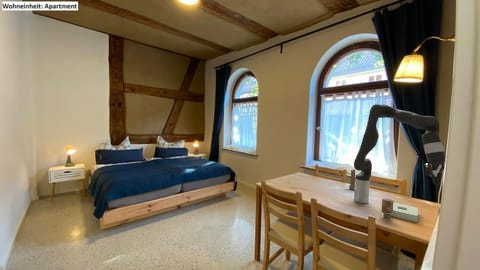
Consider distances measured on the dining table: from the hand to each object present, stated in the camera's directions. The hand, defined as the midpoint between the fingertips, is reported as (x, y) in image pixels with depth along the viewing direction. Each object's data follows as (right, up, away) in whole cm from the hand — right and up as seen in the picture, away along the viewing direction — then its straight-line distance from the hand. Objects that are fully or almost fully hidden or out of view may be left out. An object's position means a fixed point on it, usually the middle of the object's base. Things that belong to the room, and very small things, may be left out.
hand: (443, 183), depth 106 cm
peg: (-9, -28, +29) cm, 41 cm away
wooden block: (+2, -25, +86) cm, 89 cm away
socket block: (+5, -28, +34) cm, 44 cm away
